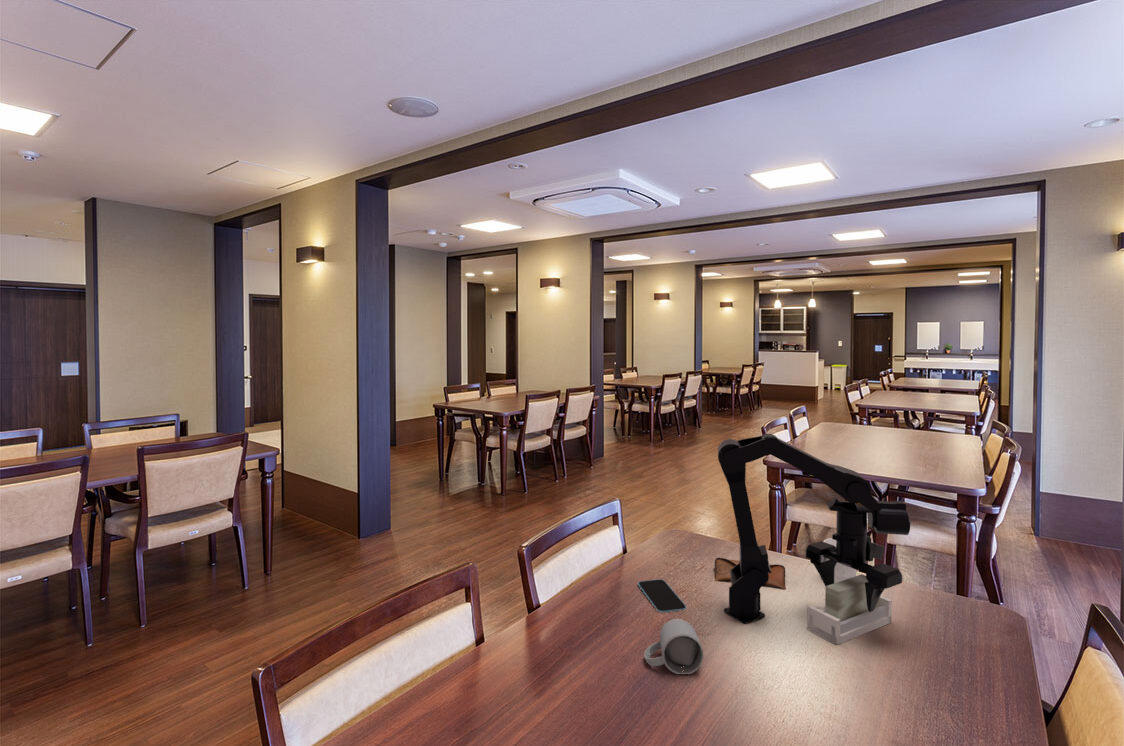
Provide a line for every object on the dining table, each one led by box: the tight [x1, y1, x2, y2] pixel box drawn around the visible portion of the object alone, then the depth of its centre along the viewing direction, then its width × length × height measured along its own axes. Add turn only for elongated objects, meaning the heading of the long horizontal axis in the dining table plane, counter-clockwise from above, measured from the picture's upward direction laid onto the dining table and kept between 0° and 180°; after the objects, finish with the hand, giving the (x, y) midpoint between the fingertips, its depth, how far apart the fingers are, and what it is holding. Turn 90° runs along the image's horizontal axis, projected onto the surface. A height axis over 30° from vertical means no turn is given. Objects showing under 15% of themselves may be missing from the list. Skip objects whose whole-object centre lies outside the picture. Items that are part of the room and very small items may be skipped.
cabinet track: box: [806, 595, 893, 646], centre depth 118 cm, size 18×7×5 cm, turn 117°
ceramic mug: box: [643, 618, 705, 675], centre depth 105 cm, size 11×8×8 cm
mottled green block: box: [824, 574, 868, 622], centre depth 117 cm, size 12×3×8 cm, turn 117°
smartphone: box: [637, 578, 687, 613], centre depth 132 cm, size 7×1×15 cm
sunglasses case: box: [714, 557, 787, 590], centre depth 142 cm, size 18×7×7 cm, turn 72°
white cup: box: [823, 537, 858, 583], centre depth 138 cm, size 8×8×10 cm
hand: (850, 602), depth 117 cm, fingers open, 9 cm apart
